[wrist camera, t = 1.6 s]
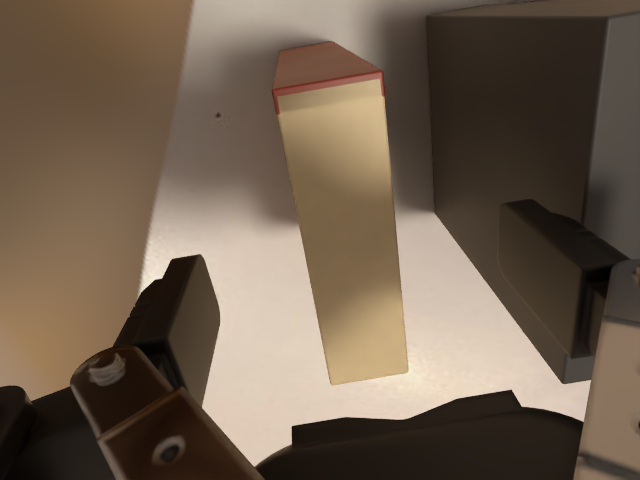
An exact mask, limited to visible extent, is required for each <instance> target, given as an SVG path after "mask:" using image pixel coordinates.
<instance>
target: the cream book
mask: <svg viewBox="0 0 640 480" xmlns="http://www.w3.org/2000/svg"><path fill="white" fill-rule="evenodd" d="M272 95H273V100H274V105H275V110H276V114H277V115H278V120H279V125H280V130H281V136H282V141H283V146H284V151H285V156H286V161H287V166H288V171H289V176H290V181H291V186H292V191H293V196H294V201H295V207H296V212H297V217H298V222H299V227H300V232H301V237H302V242H303V247H304V252H305V257H306V262H307V267H308V272H309V278H310V283H311V288H312V293H313V298H314V303H315V308H316V313H317V318H318V323H319V328H320V333H321V338H322V343H323V349H324V354H325V359H326V364H327V369H328V374H329V379H330V383H331V385H337V384H343V383H349V382H355V381H361V380H367V379H373V378H379V377H385V376H391V375H397V374H403V373H407V372H408V359H407V348H406V336H405V325H404V314H403V302H402V291H401V280H400V268H399V257H398V246H397V234H396V223H395V212H394V200H393V189H392V178H391V166H390V155H389V144H388V132H387V121H386V110H385V98H384V96H385V87H384V76H383V71H382V70H381V69H379V68H377V67H376V66H374V65H372V64H370V63H369V62H367V61H365V60H364V59H362V58H360V57H358V56H357V55H355V54H353V53H352V52H350V51H348V50H346V49H345V48H343V47H341V46H340V45H338V44H336V43H335V42H327V43H321V44H315V45H310V46H304V47H298V48H293V49H287V50H281V51H280V52H279V57H278V63H277V68H276V73H275V78H274V83H273V89H272Z"/></svg>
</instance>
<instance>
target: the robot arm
mask: <svg viewBox="0 0 640 480" xmlns="http://www.w3.org/2000/svg"><path fill="white" fill-rule="evenodd" d="M497 261H498V266H499V269H500V272H501V274H502V276H503V278H504V279H505V280H506V282H507V283H508V284H509V285H510V286H511V288H512V289H513V290H514V291H515V292H516V294H517V295H518V296H519V297H520V298H521V300H522V301H523V302H524V303H525V304H526V306H527V307H528V308H529V309H530V310H531V312H532V313H533V314H534V315H535V316H536V318H537V319H538V320H539V321H540V322H541V324H542V325H543V326H544V327H545V329H546V330H547V331H548V332H549V333H550V335H551V336H552V337H553V338H554V339H555V341H556V342H557V343H558V344H559V345H560V347H561V348H562V349H563V350H564V351H565V353H566V354H567V355H568V356H569V357H570V359H577V358H583V357H589V356H594V357H595V362H594V368H593V373H592V379H591V385H590V390H589V396H588V402H587V407H586V413H585V418H584V422H582V421H580V420H577V419H575V418H572V417H569V416H566V415H563V414H560V413H557V412H552V411H548V410H544V409H537V408H530V407H521V405H520V403H519V402H518V400H517V398H516V397H515V395H514V393H513V392H512V390H507V391H501V392H495V393H489V394H483V395H477V396H471V397H465V398H459V399H455V400H453V401H451V402H448V403H446V404H443V405H441V406H438V407H436V408H433V409H431V410H429V411H426V412H424V413H421V414H419V415H416V416H414V417H411V418H409V419H404V420H391V419H371V418H350V417H344V418H338V419H332V420H326V421H320V422H314V423H308V424H302V425H296V426H292V445H289V446H287V447H285V448H283V449H281V450H279V451H277V452H275V453H273V454H272V455H270V456H269V457H267V458H266V459H264V460H263V461H261V462H260V463H259V464H257V465H256V466H255V467H254V466H253V465H252V464H251V463H250V462H249V461H248V460H247V459H246V457H245V456H244V455H243V454H242V453H241V452H240V451H239V449H238V448H237V447H236V446H235V445H234V444H233V443H232V442H231V440H230V439H229V438H228V437H227V436H226V435H225V434H224V432H223V431H222V430H221V429H220V428H219V427H218V426H217V425H216V423H215V422H214V421H213V420H212V419H211V418H210V417H209V415H208V414H207V413H206V412H205V411H204V410H203V409H202V403H203V399H204V394H205V390H206V385H207V381H208V376H209V372H210V367H211V363H212V358H213V353H214V349H215V344H216V340H217V335H218V331H219V326H220V311H219V305H218V301H217V298H216V295H215V292H214V289H213V285H212V282H211V279H210V276H209V273H208V269H207V266H206V263H205V261H204V258H203V257H202V255H200V254H198V255H193V256H187V257H181V258H175V259H172V260H171V261H170V264H169V266H168V268H167V270H166V272H165V274H164V276H163V278H162V279H158V280H155V281H153V282H152V283H151V284H150V285H149V286H148V287H147V288H146V289H145V290H143V291H142V292H141V294H140V296H139V298H138V300H137V302H136V304H135V307H134V308H133V310H132V311H131V313H130V317H129V318H128V319H127V321H126V323H125V325H124V326H123V328H122V330H121V332H120V334H119V336H118V338H117V339H116V342H115V343H114V345H113V347H111V348H108V349H106V350H103V351H101V352H99V353H97V354H95V355H93V356H92V357H90V358H89V359H87V360H86V361H85V362H84V363H82V364H81V365H80V366H79V367H78V368H77V370H76V371H75V372H74V374H73V376H72V378H71V381H70V387H67V388H65V389H63V390H60V391H57V392H54V393H52V394H49V395H46V396H44V397H41V398H38V399H36V400H33V401H30V399H29V397H28V396H27V394H26V392H25V391H24V390H23V389H22V388H21V387H19V386H4V387H0V480H640V259H630V258H628V257H627V256H626V255H624V254H623V253H621V252H620V251H618V250H617V249H616V248H614V247H613V246H611V245H610V244H608V243H607V242H606V241H604V240H603V239H601V238H600V239H599V238H598V236H597V235H596V234H594V233H593V232H591V231H588V230H587V228H586V227H584V226H583V225H581V224H580V223H579V222H577V221H576V220H574V219H572V218H569V217H566V216H563V215H560V214H557V213H551V212H550V211H548V210H547V209H546V208H544V207H543V206H542V205H540V204H539V203H537V202H536V201H535V200H533V199H525V200H519V201H513V202H507V203H502V204H501V205H500V207H499V210H498V235H497Z"/></svg>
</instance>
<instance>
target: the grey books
mask: <svg viewBox="0 0 640 480" xmlns="http://www.w3.org/2000/svg"><path fill="white" fill-rule="evenodd" d="M426 19H427V42H428V65H429V88H430V111H431V134H432V157H433V180H434V203H435V214H436V215H437V217H438V218H439V219H440V221H441V222H442V223H443V225H444V226H445V227H446V229H447V230H448V231H449V233H450V234H451V235H452V237H453V238H454V239H455V241H456V242H457V243H458V245H459V246H460V247H461V249H462V250H463V251H464V253H465V254H466V255H467V257H468V258H469V259H470V261H471V262H472V263H473V265H474V266H475V268H476V269H477V270H478V272H479V273H480V274H481V276H482V277H483V278H484V280H485V281H486V282H487V284H488V285H489V286H490V288H491V289H492V290H493V292H494V293H495V294H496V296H497V297H498V298H499V300H500V301H501V302H502V304H503V305H504V306H505V308H506V309H507V310H508V312H509V313H510V314H511V316H512V317H513V318H514V320H515V321H516V322H517V324H518V325H519V326H520V328H521V329H522V330H523V332H524V333H525V335H526V336H527V337H528V339H529V340H530V341H531V343H532V344H533V345H534V347H535V348H536V349H537V351H538V352H539V353H540V355H541V356H542V357H543V359H544V360H545V361H546V363H547V364H548V365H549V367H550V368H551V369H552V371H553V372H554V373H555V375H556V376H557V377H558V379H559V380H560V381H561V383H562V384H568V383H574V382H580V381H586V380H591V379H592V373H593V368H594V362H595V357H594V356H589V357H583V358H577V359H570V357H569V356H568V355H567V354H566V353H565V351H564V350H563V349H562V348H561V347H560V345H559V344H558V343H557V342H556V341H555V339H554V338H553V337H552V336H551V335H550V333H549V332H548V331H547V330H546V329H545V327H544V326H543V325H542V324H541V322H540V321H539V320H538V319H537V318H536V316H535V315H534V314H533V313H532V312H531V310H530V309H529V308H528V307H527V306H526V304H525V303H524V302H523V301H522V300H521V298H520V297H519V296H518V295H517V294H516V292H515V291H514V290H513V289H512V288H511V286H510V285H509V284H508V283H507V282H506V280H505V279H504V278H503V276H502V274H501V272H500V269H499V266H498V261H497V235H498V210H499V207H500V205H501V204H502V203H507V202H513V201H519V200H525V199H533V200H535V201H536V202H537V203H539V204H540V205H542V206H543V207H544V208H546V209H547V210H548V211H550V212H551V213H557V214H560V215H563V216H566V217H569V218H572V219H574V220H576V221H577V222H579V223H580V224H581V225H583V226H584V227H586V228H587V230H588V231H591V232H593V233H594V234H596V235H597V236H598V238H599V239H600V238H601V239H603V240H604V241H606V242H607V243H608V244H610V245H611V246H613V247H614V248H616V249H617V250H618V251H620V252H621V253H623V254H624V255H626V256H627V257H628V258H630V259H640V0H538V1H533V2H527V3H515V4H494V5H482V6H477V7H471V8H465V9H460V10H454V11H448V12H442V13H437V14H431V15H427V17H426Z"/></svg>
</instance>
